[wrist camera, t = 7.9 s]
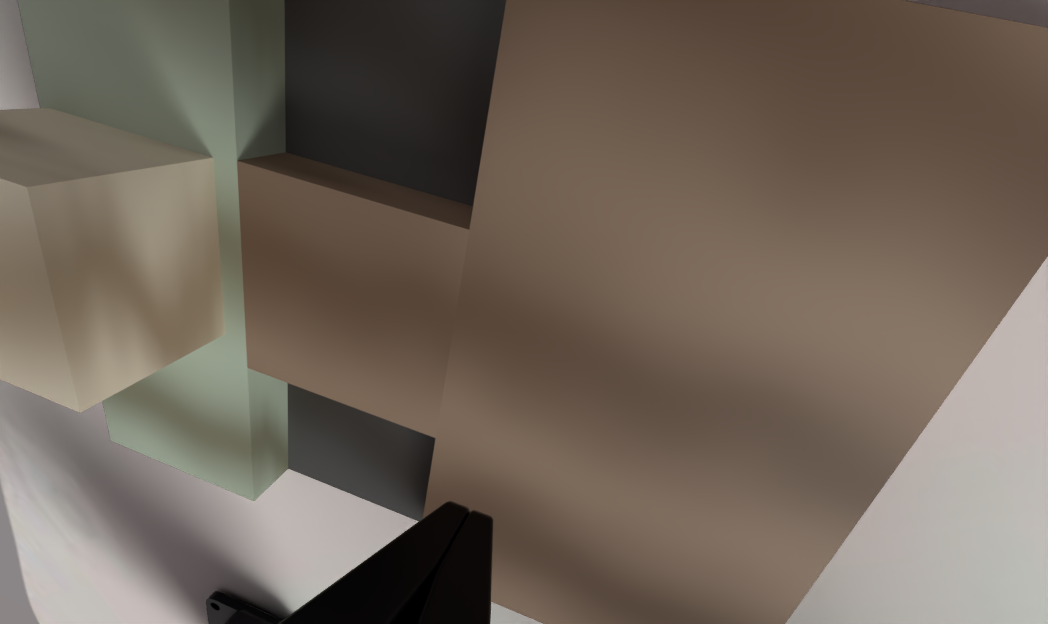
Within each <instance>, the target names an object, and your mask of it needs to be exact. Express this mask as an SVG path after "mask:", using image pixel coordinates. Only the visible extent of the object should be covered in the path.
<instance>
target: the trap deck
mask: <svg viewBox="0 0 1048 624" xmlns="http://www.w3.org/2000/svg"><path fill="white" fill-rule="evenodd" d="M17 1H18V6H19V10H20V15H21V20H22V25H23V29H24V34H25V39H26V43H27V48H28V53H29V58H30V62H31V67H32V72H33V76H34V81H35V86H36V91H37V95H38V100H39V105H40V108H51V109H54V110H58V111H61V112H64V113H68V114H71V115H74V116H77V117H81V118H84V119H87V120H91V121H94V122H97V123H101V124H104V125H107V126H110V127H114V128H117V129H120V130H124V131H127V132H130V133H134V134H137V135H140V136H143V137H147V138H150V139H153V140H157V141H160V142H163V143H166V144H170V145H173V146H176V147H180V148H183V149H186V150H190V151H193V152H196V153H199V154H203V155H206V156H209V157H213V160H214V175H215V190H216V204H217V219H218V234H219V249H220V263H221V278H222V293H223V308H224V322H225V334H224V335H223V336H221V337H219V338H217V339H215V340H213V341H212V342H210V343H208V344H206V345H204V346H202V347H201V348H199V349H197V350H195V351H193V352H191V353H189V354H188V355H186V356H184V357H182V358H180V359H178V360H177V361H175V362H173V363H171V364H169V365H167V366H166V367H164V368H162V369H160V370H158V371H156V372H155V373H153V374H151V375H149V376H147V377H145V378H144V379H142V380H140V381H138V382H136V383H134V384H133V385H131V386H129V387H127V388H125V389H123V390H121V391H120V392H118V393H116V394H114V395H112V396H110V397H109V398H107V399H105V400H103V401H102V402H103V407H104V411H105V416H106V421H107V426H108V430H109V435H110V440H111V441H112V442H115V443H117V444H119V445H122V446H124V447H127V448H129V449H131V450H134V451H136V452H138V453H141V454H143V455H145V456H148V457H150V458H153V459H155V460H157V461H160V462H162V463H164V464H167V465H169V466H172V467H174V468H176V469H179V470H181V471H183V472H186V473H188V474H190V475H193V476H195V477H198V478H200V479H202V480H205V481H207V482H209V483H212V484H214V485H217V486H219V487H221V488H224V489H226V490H228V491H231V492H233V493H235V494H238V495H240V496H243V497H245V498H247V499H250V500H252V501H255V500H256V499H257V498H258V497H259V496H260V495H261V494H262V493H263V492H264V491H265V490H266V489H267V488H268V487H269V486H270V485H272V484H273V483H274V482H275V481H276V480H277V479H278V478H279V477H280V476H281V475H282V474H283V473H284V472H285V471H286V470H287V469H291V470H293V471H296V472H298V473H301V474H303V475H306V476H308V477H311V478H313V479H316V480H318V481H321V482H323V483H326V484H328V485H330V486H333V487H335V488H338V489H340V490H343V491H345V492H348V493H350V494H353V495H355V496H358V497H360V498H363V499H365V500H368V501H370V502H372V503H375V504H377V505H380V506H382V507H385V508H387V509H390V510H392V511H395V512H397V513H400V514H402V515H405V516H407V517H410V518H412V519H414V520H417V521H420V520H422V519H423V518H425V517H426V516H427V515H429V514H430V513H432V512H433V511H434V510H436V509H437V508H438V507H440V506H441V505H443V504H444V503H445V502H447V501H453V502H456V503H458V504H461V505H464V506H466V507H468V508H469V509H470V511H472V510H477V511H479V512H482V513H485V514H487V515H490V516H492V518H493V554H492V585H491V602H494V603H496V604H498V605H501V606H503V607H506V608H508V609H510V610H513V611H515V612H517V613H520V614H522V615H524V616H527V617H529V618H532V619H534V620H536V621H539V622H541V623H543V624H785V623H786V622H787V620H788V619H789V617H790V616H791V615H792V613H793V612H794V610H795V609H796V608H797V606H798V605H799V603H800V602H801V601H802V599H803V598H804V596H805V595H806V594H807V592H808V591H809V589H810V588H811V587H812V585H813V584H814V582H815V581H816V580H817V578H818V577H819V575H820V574H821V573H822V571H823V570H824V568H825V567H826V566H827V564H828V563H829V561H830V560H831V559H832V557H833V556H834V554H835V553H836V552H837V550H838V549H839V547H840V546H841V545H842V543H843V542H844V540H845V539H846V538H847V536H848V535H849V533H850V532H851V531H852V529H853V528H854V526H855V525H856V524H857V522H858V521H859V519H860V518H861V517H862V515H863V514H864V512H865V511H866V510H867V508H868V507H869V505H870V504H871V503H872V501H873V500H874V498H875V497H876V496H877V494H878V493H879V491H880V490H881V489H882V487H883V486H884V484H885V483H886V482H887V480H888V479H889V477H890V476H891V475H892V473H893V472H894V470H895V469H896V468H897V466H898V465H899V463H900V462H901V461H902V459H903V458H904V456H905V455H906V454H907V452H908V451H909V449H910V448H911V447H912V445H913V444H914V442H915V441H916V440H917V438H918V437H919V435H920V434H921V433H922V431H923V430H924V428H925V427H926V426H927V424H928V423H929V421H930V420H931V419H932V417H933V416H934V414H935V413H936V412H937V410H938V409H939V407H940V406H941V405H942V403H943V402H944V400H945V399H946V398H947V396H948V395H949V393H950V392H951V391H952V389H953V388H954V386H955V385H956V384H957V382H958V381H959V379H960V378H961V377H962V375H963V374H964V372H965V371H966V370H967V368H968V367H969V365H970V364H971V363H972V361H973V360H974V359H975V357H976V356H977V354H978V353H979V352H980V350H981V349H982V347H983V346H984V345H985V343H986V342H987V340H988V339H989V338H990V336H991V335H992V333H993V332H994V331H995V329H996V328H997V326H998V325H999V324H1000V322H1001V321H1002V319H1003V318H1004V317H1005V315H1006V314H1007V312H1008V311H1009V310H1010V308H1011V307H1012V305H1013V304H1014V303H1015V301H1016V300H1017V298H1018V297H1019V296H1020V294H1021V293H1022V291H1023V290H1024V289H1025V287H1026V286H1027V284H1028V283H1029V282H1030V280H1031V279H1032V277H1033V276H1034V275H1035V273H1036V272H1037V270H1038V269H1039V268H1040V266H1041V265H1042V263H1043V262H1044V261H1045V259H1046V258H1047V256H1048V28H1046V27H1041V26H1036V25H1031V24H1025V23H1020V22H1015V21H1010V20H1004V19H999V18H994V17H989V16H983V15H978V14H973V13H968V12H962V11H957V10H952V9H946V8H941V7H936V6H931V5H925V4H920V3H915V2H910V1H904V0H17Z"/></svg>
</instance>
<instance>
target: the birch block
mask: <svg viewBox="0 0 1048 624" xmlns="http://www.w3.org/2000/svg"><path fill="white" fill-rule="evenodd" d="M224 334H225V322H224V308H223V293H222V278H221V263H220V249H219V234H218V219H217V204H216V190H215V175H214V160H213V157H209V156H206V155H203V154H199V153H196V152H193V151H190V150H186V149H183V148H180V147H176V146H173V145H170V144H166V143H163V142H160V141H157V140H153V139H150V138H147V137H143V136H140V135H137V134H134V133H130V132H127V131H124V130H120V129H117V128H114V127H110V126H107V125H104V124H101V123H97V122H94V121H91V120H87V119H84V118H81V117H77V116H74V115H71V114H68V113H64V112H61V111H58V110H54V109H51V108H37V109H12V110H0V380H3V381H5V382H8V383H10V384H12V385H15V386H17V387H20V388H22V389H24V390H27V391H29V392H31V393H34V394H36V395H39V396H41V397H43V398H46V399H48V400H51V401H53V402H55V403H58V404H60V405H62V406H65V407H67V408H70V409H72V410H74V411H77V412H79V413H81V412H83V411H85V410H87V409H88V408H90V407H92V406H94V405H96V404H98V403H99V402H101V401H103V400H105V399H107V398H109V397H110V396H112V395H114V394H116V393H118V392H120V391H121V390H123V389H125V388H127V387H129V386H131V385H133V384H134V383H136V382H138V381H140V380H142V379H144V378H145V377H147V376H149V375H151V374H153V373H155V372H156V371H158V370H160V369H162V368H164V367H166V366H167V365H169V364H171V363H173V362H175V361H177V360H178V359H180V358H182V357H184V356H186V355H188V354H189V353H191V352H193V351H195V350H197V349H199V348H201V347H202V346H204V345H206V344H208V343H210V342H212V341H213V340H215V339H217V338H219V337H221V336H223V335H224Z"/></svg>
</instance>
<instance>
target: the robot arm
mask: <svg viewBox="0 0 1048 624" xmlns="http://www.w3.org/2000/svg"><path fill="white" fill-rule="evenodd" d="M492 554H493V518H492V516H490V515H487V514H485V513H482V512H479V511H477V510H472V511H470V509H469V508H468V507H466V506H464V505H461V504H458V503H456V502H453V501H447V502H445V503H444V504H443V505H441V506H440V507H438V508H437V509H436V510H434V511H433V512H432V513H430V514H429V515H427V516H426V517H425V518H423V519H422V520H420V521H419V522H418V523H416V524H415V525H414V526H412V527H411V528H409V529H408V530H407V531H405V532H404V533H403V534H401V535H400V536H398V537H397V538H396V539H394V540H393V541H391V542H390V543H389V544H387V545H386V546H385V547H383V548H382V549H380V550H379V551H378V552H376V553H375V554H374V555H372V556H371V557H369V558H368V559H367V560H365V561H364V562H363V563H361V564H360V565H358V566H357V567H356V568H354V569H353V570H351V571H350V572H349V573H347V574H346V575H345V576H343V577H342V578H340V579H339V580H338V581H336V582H335V583H334V584H332V585H331V586H329V587H328V588H327V589H325V590H324V591H323V592H321V593H320V594H318V595H317V596H316V597H314V598H313V599H311V600H310V601H309V602H307V603H306V604H305V605H303V606H302V607H300V608H299V609H298V610H296V611H295V612H294V613H292V614H291V615H289V616H288V617H287V618H285V619H284V620H283V621H282V620H280V619H278V618H276V617H274V616H271V615H269V614H267V613H265V612H263V611H261V610H258V609H256V608H254V607H252V606H250V605H248V604H245V603H243V602H241V601H239V600H237V599H235V598H232V597H230V596H228V595H226V594H224V593H222V592H219V591H215V592H214V593H213V594H212V595H211V596H210V597H209V598H208V599H207V600H206V606H207V614H208V622H209V624H490V617H491V585H492Z"/></svg>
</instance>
